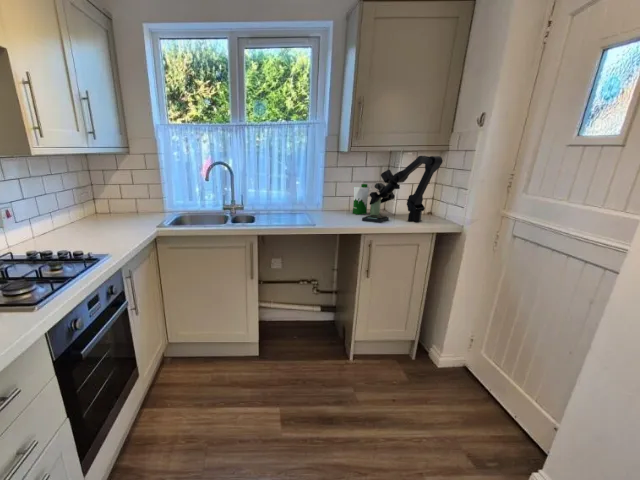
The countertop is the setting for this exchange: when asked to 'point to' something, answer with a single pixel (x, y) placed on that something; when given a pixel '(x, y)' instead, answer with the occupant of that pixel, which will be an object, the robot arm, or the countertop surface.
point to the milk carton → (360, 199)
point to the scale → (375, 218)
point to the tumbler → (375, 208)
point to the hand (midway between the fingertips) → (374, 203)
